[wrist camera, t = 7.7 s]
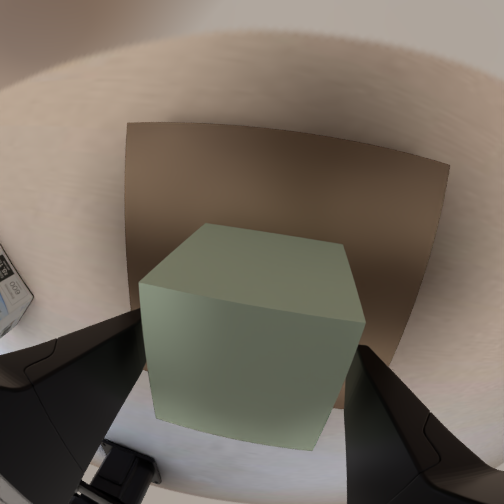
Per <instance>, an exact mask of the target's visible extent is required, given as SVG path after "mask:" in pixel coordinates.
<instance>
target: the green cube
mask: <svg viewBox="0 0 504 504" xmlns="http://www.w3.org/2000/svg"><path fill="white" fill-rule="evenodd" d="M139 296H140V308H141V318H142V328H143V337H144V346H145V353H146V361H147V368H148V375H149V381H150V387H151V393H152V399H153V405H154V410H155V416H156V418H157V419H160V420H163V421H166V422H169V423H173V424H176V425H179V426H183V427H186V428H190V429H194V430H198V431H201V432H205V433H209V434H213V435H218V436H222V437H226V438H231V439H236V440H241V441H246V442H251V443H257V444H263V445H269V446H275V447H282V448H289V449H298V450H307V451H312V450H313V448H314V446H315V444H316V442H317V440H318V438H319V436H320V434H321V432H322V430H323V428H324V426H325V424H326V422H327V420H328V417H329V415H330V413H331V411H332V409H333V406H334V404H335V402H336V399H337V397H338V395H339V392H340V390H341V388H342V385H343V383H344V380H345V378H346V375H347V373H348V370H349V368H350V365H351V363H352V360H353V358H354V355H355V352H356V349H357V347H358V344H359V341H360V338H361V336H362V333H363V330H364V327H365V324H366V321H365V317H364V314H363V310H362V306H361V303H360V299H359V296H358V292H357V289H356V285H355V282H354V279H353V275H352V272H351V269H350V265H349V262H348V259H347V256H346V253H345V250H344V246H343V244H338V243H332V242H326V241H320V240H313V239H307V238H301V237H295V236H288V235H282V234H276V233H269V232H263V231H256V230H250V229H243V228H236V227H230V226H223V225H216V224H209V223H205V224H204V225H203V226H201V227H200V228H199V229H198V230H197V231H196V232H194V233H193V234H192V235H191V236H190V237H189V238H188V239H186V240H185V241H184V242H183V243H182V244H181V245H179V246H178V247H177V248H176V249H175V250H174V251H173V252H172V253H170V254H169V255H168V256H167V257H166V258H165V259H164V260H163V261H161V262H160V263H159V264H158V265H157V266H156V267H155V268H154V269H153V270H151V271H150V272H149V273H148V274H147V275H146V276H145V277H144V278H143V279H142V280H140V281H139Z"/></svg>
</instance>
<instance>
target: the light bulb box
mask: <svg viewBox="0 0 504 504" xmlns="http://www.w3.org/2000/svg"><path fill="white" fill-rule="evenodd" d="M32 299H33V296H32V294H31V293H30V292H29V290H28V289H27V287H26V286H25V284H24V283H23V281H22V280H21V278H20V277H19V275H18V274H17V272H16V270H15V269H14V267H13V266H12V264H11V262H10V261H9V259H8V257H7V256H6V254H5V252H4V251H3V249H2V247H1V245H0V338H1V337H3V336H4V335H5V334H6V333H8V332H9V331H10V330H11V329H12V328H14V327H15V326H16V325H17V323H18V321H19V320H20V318H21V316H22V315H23V313H24V312H25V310H26V308H27V307H28V305H29V304H30V302H31V300H32Z"/></svg>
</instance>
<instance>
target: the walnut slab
mask: <svg viewBox="0 0 504 504" xmlns="http://www.w3.org/2000/svg"><path fill="white" fill-rule="evenodd" d="M449 169H450V165H448V164H445V163H442V162H438V161H435V160H431V159H428V158H424V157H420V156H417V155H413V154H409V153H405V152H401V151H397V150H393V149H388V148H384V147H379V146H375V145H370V144H365V143H360V142H355V141H350V140H345V139H339V138H333V137H328V136H321V135H315V134H308V133H301V132H294V131H286V130H278V129H269V128H260V127H249V126H237V125H223V124H205V123H175V122H140V123H127V135H126V154H125V237H126V257H127V272H128V285H129V296H130V305H131V311H132V310H135V309H138V308H140V296H139V281H140V280H142V279H143V278H144V277H145V276H146V275H147V274H148V273H149V272H150V271H151V270H153V269H154V268H155V267H156V266H157V265H158V264H159V263H160V262H161V261H163V260H164V259H165V258H166V257H167V256H168V255H169V254H170V253H172V252H173V251H174V250H175V249H176V248H177V247H178V246H179V245H181V244H182V243H183V242H184V241H185V240H186V239H188V238H189V237H190V236H191V235H192V234H193V233H194V232H196V231H197V230H198V229H199V228H200V227H201V226H203V225H204V224H205V223H209V224H216V225H223V226H230V227H236V228H243V229H250V230H256V231H263V232H269V233H276V234H282V235H288V236H295V237H301V238H307V239H313V240H320V241H326V242H332V243H338V244H343V246H344V250H345V253H346V256H347V259H348V262H349V265H350V269H351V272H352V275H353V279H354V282H355V285H356V289H357V292H358V296H359V299H360V303H361V306H362V310H363V314H364V317H365V321H366V324H365V327H364V330H363V333H362V336H361V338H360V341H359V344H360V345H367V346H369V347H370V348H371V349H372V350H373V351H374V352H375V353H376V354H377V355H378V357H379V358H380V359H381V360H382V361H383V362H384V363H385V364H386V365H387V366H388V367H389V364H390V362H391V360H392V358H393V356H394V353H395V351H396V349H397V346H398V344H399V342H400V339H401V337H402V334H403V332H404V329H405V327H406V324H407V322H408V319H409V317H410V314H411V311H412V309H413V306H414V303H415V300H416V297H417V295H418V292H419V289H420V286H421V283H422V280H423V277H424V273H425V270H426V267H427V264H428V260H429V257H430V253H431V250H432V246H433V243H434V239H435V235H436V231H437V227H438V223H439V219H440V215H441V210H442V206H443V201H444V196H445V191H446V186H447V181H448V175H449ZM143 370H145V371H148V368H147V361H146V364H145V366H144V368H143ZM344 400H345V380H344V383H343V385H342V388H341V390H340V392H339V395H338V397H337V399H336V402H335V404H334V406H333V408H337V409H344Z"/></svg>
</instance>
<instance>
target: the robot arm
mask: <svg viewBox="0 0 504 504" xmlns="http://www.w3.org/2000/svg"><path fill="white" fill-rule="evenodd" d="M145 364H146V353H145V346H144V337H143V328H142V318H141V308H138V309H135V310H132V311H130V312H127V313H124V314H122V315H119V316H116V317H114V318H111V319H108V320H105V321H103V322H100V323H97V324H94V325H92V326H89V327H86V328H84V329H81V330H78V331H75V332H73V333H70V334H67V335H64V336H61V337H59V338H58V339H53V340H50V341H48V342H45V343H42V344H39V345H36V346H32V347H29V348H25V349H22V350H18V351H14V352H10V353H7V354H3V355H0V504H141V502H142V500H143V498H144V496H145V494H146V492H147V489H148V487H149V485H150V483H151V482H153V483H156V484H160V483H161V479H160V476H159V473H158V470H157V466H156V463H155V461H154V460H153V459H151V458H149V457H146V456H143V455H141V454H138V453H135V452H133V451H130V450H128V449H125V448H123V447H120V446H118V445H116V444H113V443H111V442H109V441H106V440H104V437H105V435H106V433H107V432H108V430H109V428H110V426H111V424H112V423H113V421H114V419H115V417H116V416H117V414H118V412H119V410H120V409H121V407H122V405H123V404H124V402H125V400H126V398H127V397H128V395H129V393H130V392H131V390H132V388H133V386H134V385H135V383H136V381H137V380H138V378H139V376H140V374H141V372H142V370H143V368H144V366H145ZM344 424H345V441H346V466H347V504H504V471H500V470H497V469H494V468H492V467H490V466H489V465H487V464H486V463H485V462H483V461H482V460H481V459H480V458H479V457H478V456H477V455H475V454H474V453H473V452H472V451H471V450H470V449H469V448H468V447H466V446H465V445H464V444H463V443H462V442H461V441H460V440H459V439H457V438H456V437H455V436H454V435H453V434H452V433H451V432H450V431H449V430H448V429H447V428H446V427H445V426H444V425H443V424H442V423H441V422H440V421H439V420H438V419H437V418H436V417H435V416H434V415H433V414H432V413H431V412H430V410H429V409H428V408H427V407H426V406H425V405H424V404H423V403H422V402H421V401H420V400H419V399H418V398H417V397H416V396H415V394H414V393H413V392H412V391H411V390H410V389H409V388H408V387H407V386H406V385H405V384H404V383H403V382H402V381H401V380H400V379H399V378H398V376H397V375H396V374H395V373H394V372H393V371H392V370H391V369H390V368H389V367H388V366H387V365H386V364H385V363H384V362H383V361H382V360H381V359H380V358H379V357H378V355H377V354H376V353H375V352H374V351H373V350H372V349H371V348H370V347H369V346H367V345H360V344H358V347H357V349H356V352H355V355H354V358H353V360H352V363H351V365H350V368H349V370H348V373H347V375H346V378H345V400H344ZM100 444H101V445H102V447H103V449H104V451H105V453H106V455H107V456H106V457H105V459H104V461H103V462H102V464H101V466H100V467H99V469H98V471H97V472H96V474H95V476H94V477H93V479H92V481H91V483H90V484H87V483H85V482H84V481H82V477H83V475H84V473H85V471H86V469H87V468H88V466H89V464H90V462H91V460H92V458H93V457H94V455H95V453H96V451H97V449H98V448H99V446H100ZM78 491H79V492H80V493H82V494H81V495H79V494H77V492H78Z"/></svg>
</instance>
